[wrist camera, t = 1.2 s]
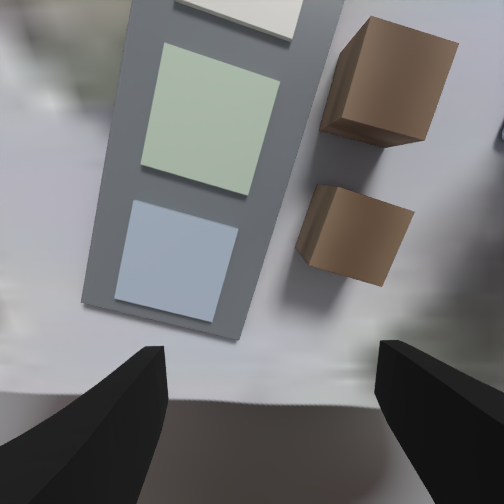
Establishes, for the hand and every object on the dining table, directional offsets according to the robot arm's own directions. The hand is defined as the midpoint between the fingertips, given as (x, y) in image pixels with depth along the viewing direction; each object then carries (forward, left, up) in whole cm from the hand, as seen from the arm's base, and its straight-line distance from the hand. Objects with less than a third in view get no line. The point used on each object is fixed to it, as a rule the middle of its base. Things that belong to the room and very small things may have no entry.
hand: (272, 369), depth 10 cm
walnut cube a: (-3, -11, -10) cm, 15 cm away
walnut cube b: (-4, -4, -10) cm, 11 cm away
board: (+5, -8, -9) cm, 13 cm away
